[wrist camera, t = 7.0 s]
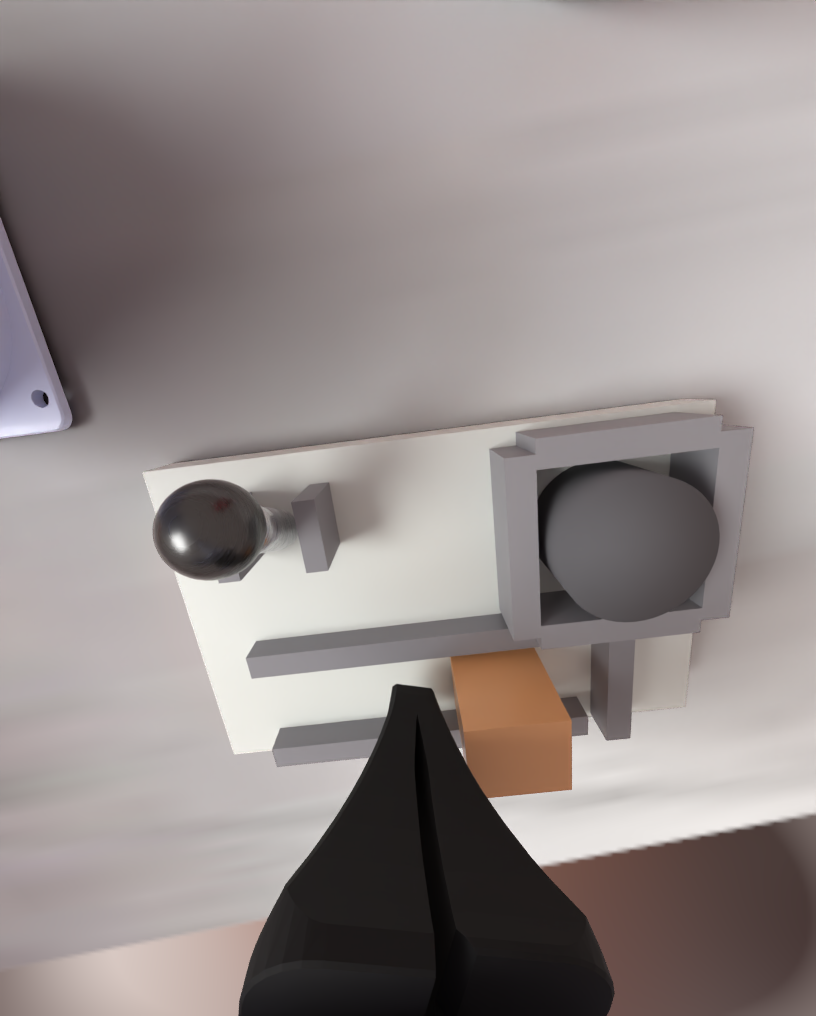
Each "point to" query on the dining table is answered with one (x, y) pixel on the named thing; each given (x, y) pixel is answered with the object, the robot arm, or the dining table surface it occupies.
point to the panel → (443, 575)
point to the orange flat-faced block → (512, 723)
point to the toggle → (217, 529)
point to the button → (626, 539)
